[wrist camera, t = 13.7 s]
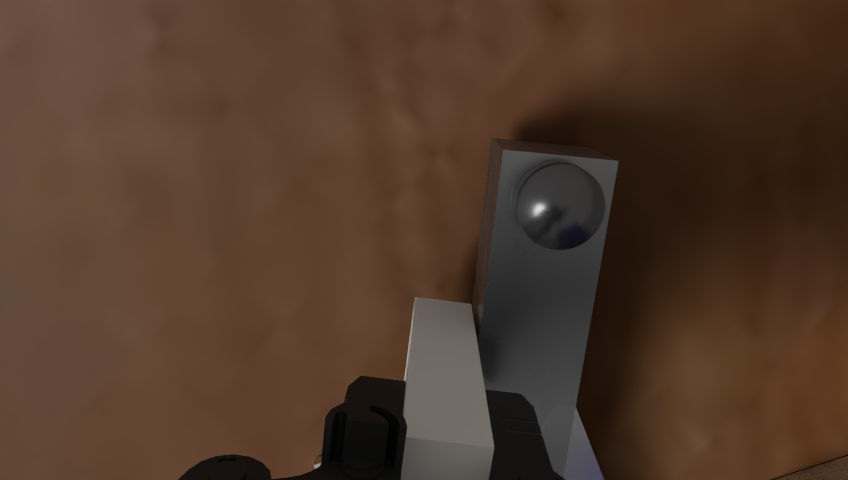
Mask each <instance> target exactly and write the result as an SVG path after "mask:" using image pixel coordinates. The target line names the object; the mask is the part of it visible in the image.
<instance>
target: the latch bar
mask: <svg viewBox="0 0 848 480" xmlns="http://www.w3.org/2000/svg"><path fill="white" fill-rule="evenodd" d="M618 163H619V161H618V160H616V159H613V158H611V157H609V156H607V155H604V154H602V153H600V152H598V151H596V150H593V149H591V148H589V147H580V146H569V145H559V144H549V143H538V142H528V141H518V140H507V139H497V138H492V141H491V150H490V158H489V166H488V174H487V183H486V191H485V199H484V207H483V216H482V224H481V232H480V240H479V249H478V257H477V265H476V273H475V282H474V290H473V298H472V312H473V318H474V325H475V331H476V337H477V343H478V349H479V356H480V362H481V368H482V374H483V380H484V387H485V389H487V390H495V391H503V392H511V393H520V394H522V395H523V396H524V397H525V398H526V399H527V401H528V402H529V403H530V404H531V405H532V406H533V407H534V409H535V413H536V416H537V419H538V424H539V426H540V429H541V432H542V433H541V435H542V436H543V439H544V442H545V446H546V449H547V452H548V456H549V459H550V462H551V466H552V469H553V471H554V472H556V473H558V474H559V475H560V476H561V477H564V471H565V465H566V460H567V454H568V448H569V442H570V437H571V431H572V425H573V420H574V414H575V408H576V402H577V397H578V391H579V385H580V380H581V374H582V368H583V362H584V357H585V351H586V345H587V340H588V334H589V328H590V322H591V317H592V311H593V305H594V300H595V294H596V288H597V283H598V277H599V271H600V265H601V260H602V254H603V248H604V243H605V237H606V231H607V225H608V220H609V214H610V208H611V203H612V197H613V191H614V185H615V180H616V174H617V168H618Z"/></svg>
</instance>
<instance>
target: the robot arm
mask: <svg viewBox="0 0 848 480" xmlns="http://www.w3.org/2000/svg"><path fill="white" fill-rule="evenodd" d="M541 433H542V432H541V429H540V426H539V424H538V419H537V416H536V413H535V409H534V407H533V406H532V405H531V404H530V403H529V402H528V401H527V399H526V398H525V397H524V396H523V395H522V394H520V393H511V392H503V391H495V390H487V389H485V387H484V380H483V374H482V368H481V362H480V356H479V349H478V343H477V337H476V331H475V325H474V318H473V312H472V306H471V304H467V303H459V302H451V301H443V300H435V299H427V298H419V297H415V301H414V308H413V316H412V324H411V332H410V339H409V347H408V355H407V363H406V370H405V378H404V381H399V380H391V379H383V378H375V377H367V376H360V377H359V378H358V379H356V380H355V381H354V382H353V383H352V384H350V385H349V386H348V389H347V393H346V396H345V400H344V403H343V404H340V405H338V406H336V407H335V408H333V409H331V410H330V412H329V413H328V414H327V416H326V418H325V429H324V439H323V450H322V460H321V465H320V466H319V467H318V468H316V469H314V470H313V471H311V472H308V473H305V474H302V475H300V476H294V477H288V478H279V479H271V474H270V471H269V469H268V468H267V467H266V466H265V465H264V464H263V463H262V462H260V461H258V460H256V459H253V458H251V457H248V456H241V455H223V456H216V457H213V458H210V459H207V460H204V461H201V462H200V463H198V464H197V465H195V466H194V467H192V468H190V469H189V470H188V471H187V472H186V473H185V474H184V475H183V476H181V477H180V478H179V479H178V480H565V479H564V478H563V477H561V476H560V475H559V474H558V473H556V472H554V471H553V469H552V466H551V462H550V459H549V456H548V452H547V449H546V446H545V442H544V439H543V436H542V435H541Z"/></svg>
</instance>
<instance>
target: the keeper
mask: <svg viewBox="0 0 848 480" xmlns="http://www.w3.org/2000/svg"><path fill="white" fill-rule="evenodd" d="M775 480H848V456H846V457H843V458H840V459H837V460H834V461H831V462H828V463H824V464H821V465H818V466H815V467H812V468H809V469H806V470H803V471H800V472H797V473H794V474H791V475H788V476H785V477H782V478H778V479H775Z"/></svg>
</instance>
